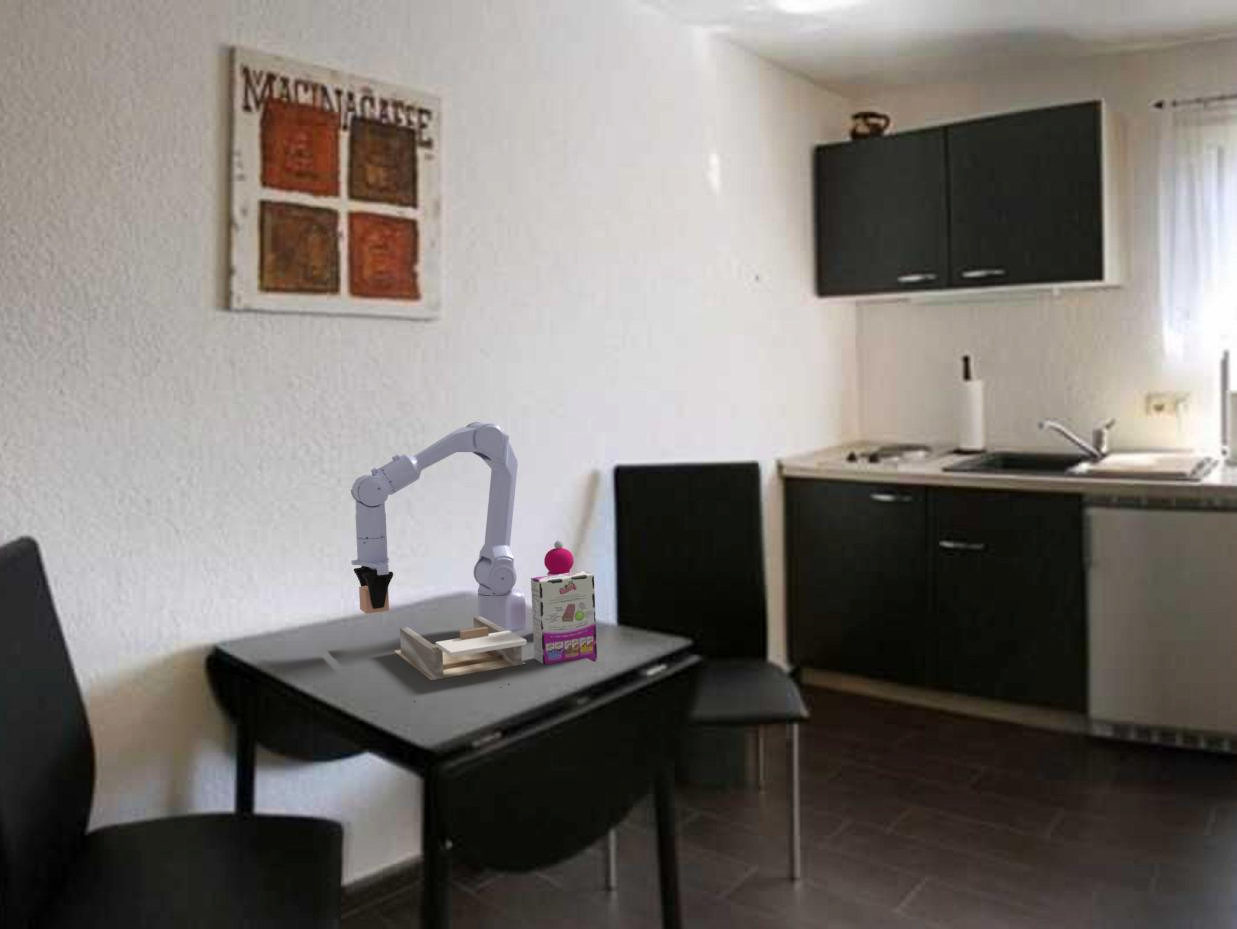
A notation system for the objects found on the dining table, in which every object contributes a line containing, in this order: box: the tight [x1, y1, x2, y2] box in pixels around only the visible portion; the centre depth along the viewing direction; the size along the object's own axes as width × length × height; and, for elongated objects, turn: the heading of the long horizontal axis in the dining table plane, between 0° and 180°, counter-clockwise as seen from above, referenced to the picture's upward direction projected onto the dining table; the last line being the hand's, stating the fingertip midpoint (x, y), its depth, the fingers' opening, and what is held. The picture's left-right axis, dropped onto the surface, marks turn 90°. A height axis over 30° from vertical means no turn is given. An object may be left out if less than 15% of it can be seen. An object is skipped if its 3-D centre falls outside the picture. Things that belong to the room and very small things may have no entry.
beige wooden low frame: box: [394, 615, 526, 681], centre depth 185 cm, size 18×22×6 cm
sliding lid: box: [435, 627, 528, 657], centre depth 174 cm, size 14×8×2 cm, turn 119°
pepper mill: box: [543, 540, 575, 576], centre depth 200 cm, size 7×7×20 cm
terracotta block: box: [358, 585, 390, 615], centre depth 193 cm, size 4×4×4 cm
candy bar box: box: [530, 570, 598, 665], centre depth 183 cm, size 11×5×16 cm, turn 117°
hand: (374, 605), depth 193 cm, fingers closed on terracotta block, 4 cm apart
